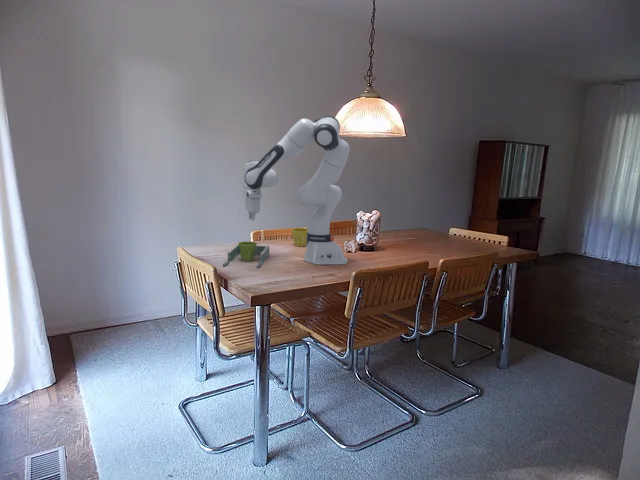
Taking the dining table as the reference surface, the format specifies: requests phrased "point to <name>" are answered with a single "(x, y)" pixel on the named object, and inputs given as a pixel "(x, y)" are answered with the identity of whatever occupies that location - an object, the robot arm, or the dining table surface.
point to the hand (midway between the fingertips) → (251, 219)
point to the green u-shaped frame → (259, 250)
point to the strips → (228, 263)
